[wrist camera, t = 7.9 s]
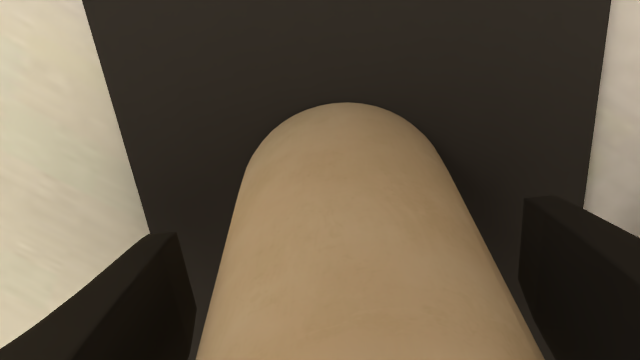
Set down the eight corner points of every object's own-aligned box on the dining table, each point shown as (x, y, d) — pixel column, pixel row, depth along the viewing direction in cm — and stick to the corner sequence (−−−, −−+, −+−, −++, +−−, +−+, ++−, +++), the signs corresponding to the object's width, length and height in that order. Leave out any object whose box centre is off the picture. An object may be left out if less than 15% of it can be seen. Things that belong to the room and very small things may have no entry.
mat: (553, 401, 19) (556, 408, 18) (211, 429, 19) (209, 437, 19) (645, -311, 10) (654, -317, 10) (20, -230, 11) (12, -233, 10)
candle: (198, 195, 14) (16, 658, 6) (350, 52, 13) (438, 389, 4) (338, 309, 16) (370, 795, 7) (487, 198, 15) (760, 653, 6)
